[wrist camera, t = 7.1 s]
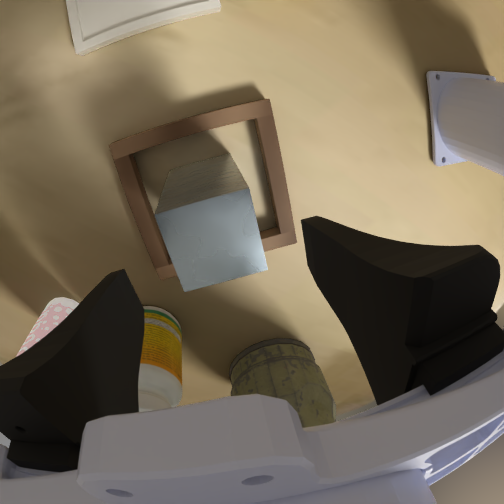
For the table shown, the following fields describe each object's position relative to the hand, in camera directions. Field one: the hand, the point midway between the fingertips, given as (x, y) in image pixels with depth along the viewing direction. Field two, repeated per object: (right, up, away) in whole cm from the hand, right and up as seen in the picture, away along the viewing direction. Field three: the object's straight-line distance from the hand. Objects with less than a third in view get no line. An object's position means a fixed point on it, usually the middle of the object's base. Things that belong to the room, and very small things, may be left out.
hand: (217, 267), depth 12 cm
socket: (-2, +5, +9) cm, 10 cm away
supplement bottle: (-7, -6, +13) cm, 16 cm away
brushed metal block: (-2, +5, +9) cm, 10 cm away
